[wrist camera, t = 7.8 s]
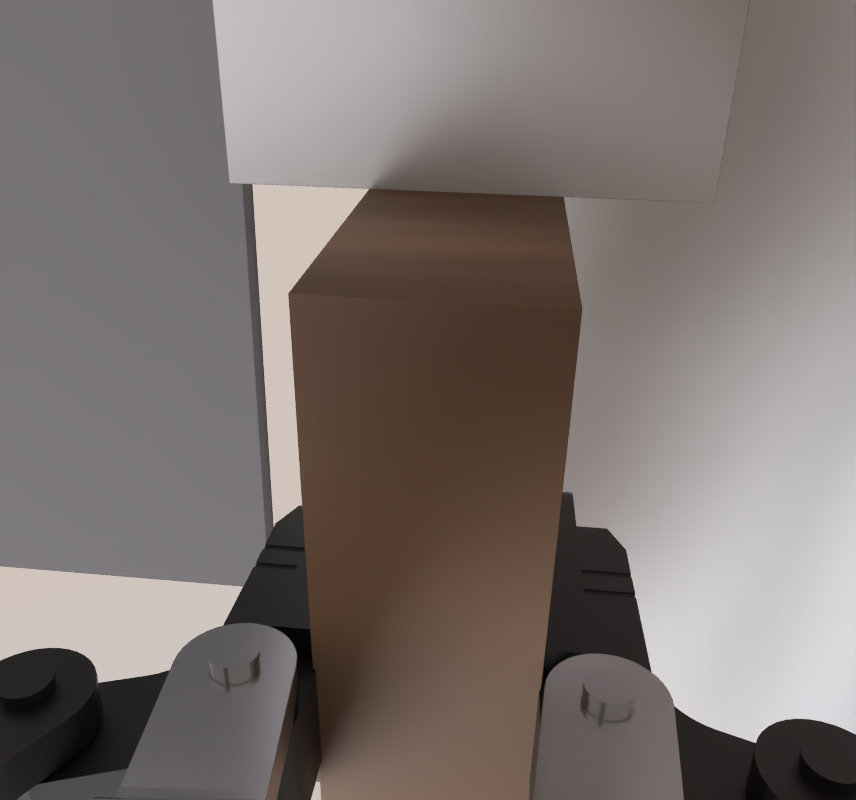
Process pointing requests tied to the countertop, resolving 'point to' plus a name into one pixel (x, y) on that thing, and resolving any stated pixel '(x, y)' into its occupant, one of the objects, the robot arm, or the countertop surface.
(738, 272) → the countertop surface
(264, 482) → the mat
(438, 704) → the turner
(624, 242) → the countertop surface
